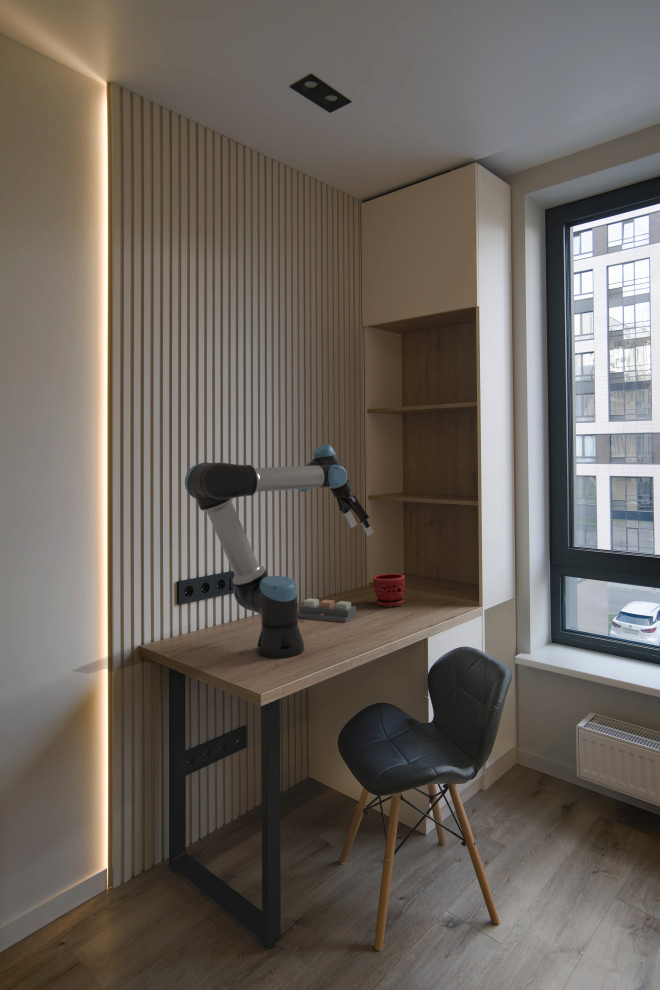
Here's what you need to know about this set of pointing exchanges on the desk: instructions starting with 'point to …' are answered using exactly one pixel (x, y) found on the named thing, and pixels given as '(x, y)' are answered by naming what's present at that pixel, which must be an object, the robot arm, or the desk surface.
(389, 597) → the plant pot
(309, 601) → the ivory key
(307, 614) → the key console
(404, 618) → the desk surface
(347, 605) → the sage key
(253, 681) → the desk surface
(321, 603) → the terracotta key
